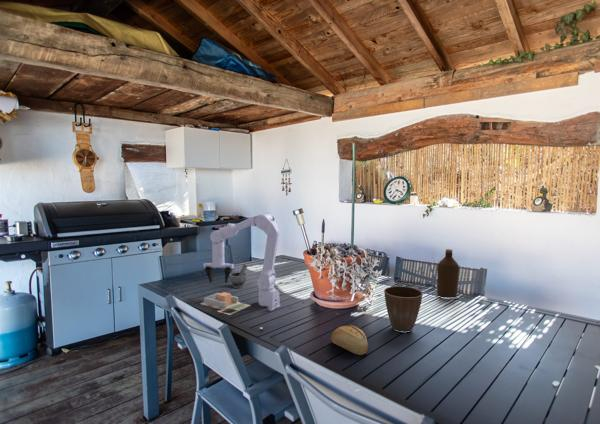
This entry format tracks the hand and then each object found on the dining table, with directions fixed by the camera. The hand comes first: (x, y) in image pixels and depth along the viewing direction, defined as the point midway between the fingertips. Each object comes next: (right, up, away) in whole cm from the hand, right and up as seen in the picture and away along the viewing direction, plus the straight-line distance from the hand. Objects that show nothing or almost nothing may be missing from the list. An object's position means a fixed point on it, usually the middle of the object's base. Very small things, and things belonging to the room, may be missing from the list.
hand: (218, 282), depth 181 cm
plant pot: (+81, -14, -30) cm, 88 cm away
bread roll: (+58, -15, -47) cm, 76 cm away
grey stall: (+2, -9, -5) cm, 10 cm away
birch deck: (+4, -10, -9) cm, 14 cm away
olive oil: (+116, -10, +12) cm, 117 cm away
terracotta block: (+4, -9, -6) cm, 12 cm away
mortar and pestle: (+6, -7, +26) cm, 28 cm away
